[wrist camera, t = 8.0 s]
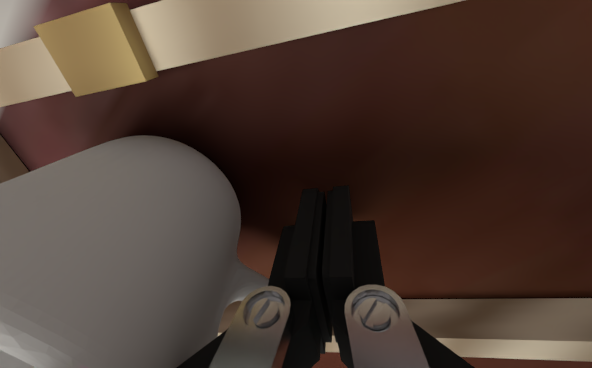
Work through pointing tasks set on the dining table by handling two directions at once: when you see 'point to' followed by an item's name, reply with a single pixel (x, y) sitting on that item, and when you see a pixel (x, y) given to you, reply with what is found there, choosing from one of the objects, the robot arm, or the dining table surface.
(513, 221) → the dining table surface
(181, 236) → the cup
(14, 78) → the frame
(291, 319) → the robot arm
